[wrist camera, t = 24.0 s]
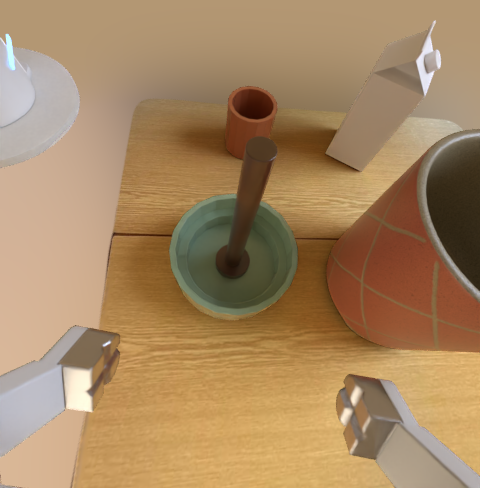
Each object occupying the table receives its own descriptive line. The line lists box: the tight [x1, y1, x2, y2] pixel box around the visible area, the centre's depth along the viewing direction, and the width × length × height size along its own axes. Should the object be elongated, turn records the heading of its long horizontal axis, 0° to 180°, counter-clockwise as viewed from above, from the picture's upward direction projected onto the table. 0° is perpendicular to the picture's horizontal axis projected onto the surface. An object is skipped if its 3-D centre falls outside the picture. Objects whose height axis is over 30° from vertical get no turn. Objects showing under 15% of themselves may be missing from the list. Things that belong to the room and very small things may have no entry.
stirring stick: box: [215, 136, 277, 279], centre depth 27 cm, size 5×5×22 cm
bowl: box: [169, 194, 298, 321], centre depth 35 cm, size 15×15×6 cm
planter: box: [326, 129, 480, 353], centre depth 30 cm, size 19×19×20 cm
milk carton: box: [325, 21, 441, 172], centre depth 40 cm, size 7×7×19 cm
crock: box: [225, 86, 277, 159], centre depth 43 cm, size 7×7×8 cm
